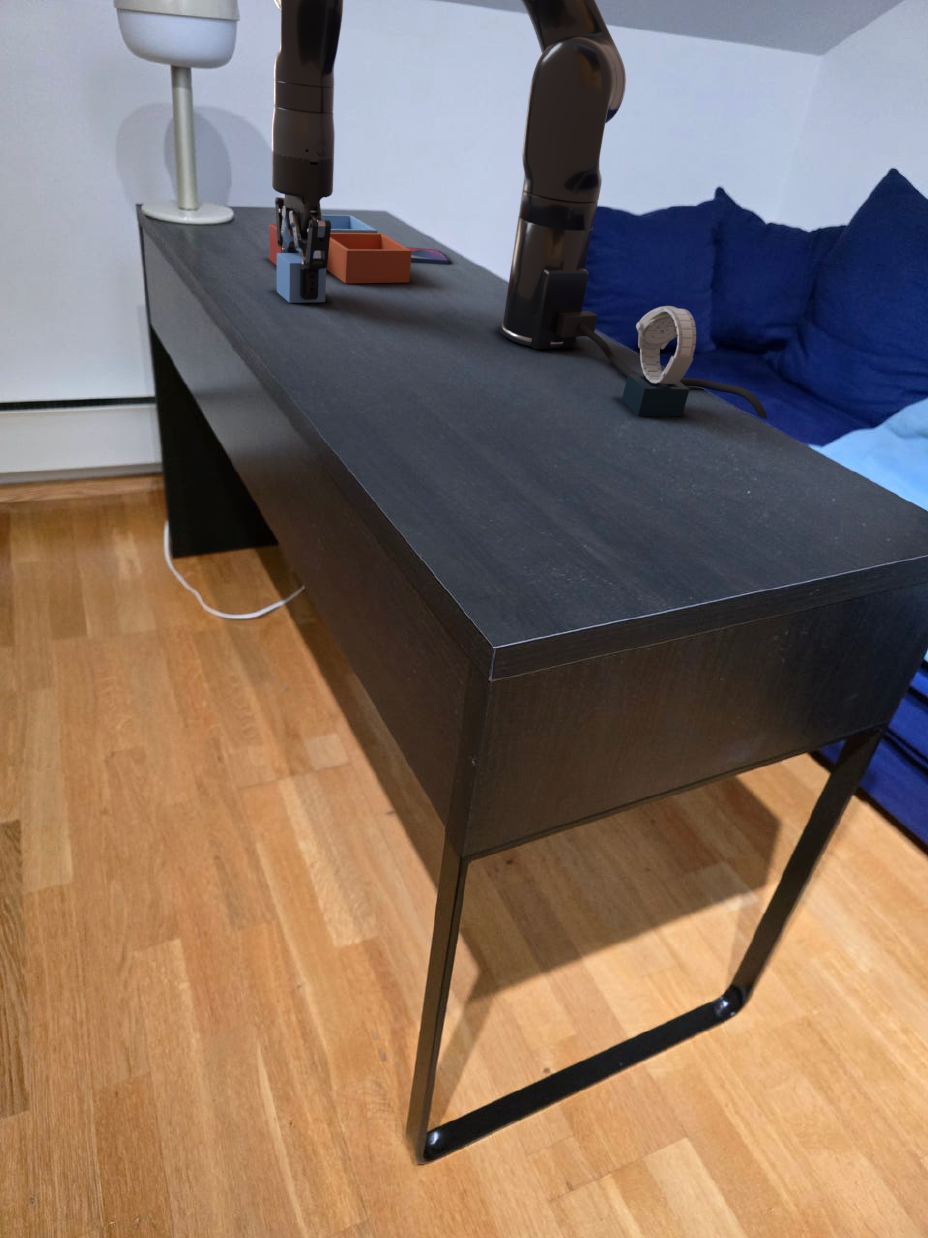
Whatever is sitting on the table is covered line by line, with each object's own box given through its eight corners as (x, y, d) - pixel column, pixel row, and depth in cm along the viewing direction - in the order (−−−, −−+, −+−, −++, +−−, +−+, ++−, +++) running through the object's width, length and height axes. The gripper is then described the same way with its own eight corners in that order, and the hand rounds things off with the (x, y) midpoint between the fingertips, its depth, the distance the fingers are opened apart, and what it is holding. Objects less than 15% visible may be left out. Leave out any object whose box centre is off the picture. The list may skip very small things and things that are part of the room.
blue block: (325, 302, 117) (326, 262, 114) (289, 302, 115) (289, 262, 112) (311, 291, 121) (312, 252, 118) (276, 291, 118) (276, 252, 115)
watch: (656, 394, 103) (681, 298, 97) (689, 422, 97) (718, 321, 91) (613, 394, 101) (636, 296, 95) (644, 422, 95) (670, 319, 89)
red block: (313, 268, 130) (314, 232, 127) (280, 269, 128) (281, 232, 125) (301, 259, 134) (301, 224, 131) (269, 259, 131) (269, 224, 128)
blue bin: (375, 260, 139) (377, 230, 136) (314, 260, 134) (315, 229, 132) (350, 244, 146) (351, 214, 143) (291, 243, 141) (291, 213, 138)
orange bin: (409, 282, 131) (411, 250, 128) (345, 283, 126) (346, 250, 123) (380, 263, 138) (382, 233, 135) (319, 263, 133) (319, 232, 130)
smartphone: (450, 267, 143) (451, 260, 143) (359, 260, 139) (360, 253, 138) (437, 256, 149) (438, 249, 149) (350, 249, 144) (350, 242, 144)
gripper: (254, 138, 111) (256, 277, 121) (294, 160, 101) (292, 309, 111) (310, 142, 114) (308, 276, 124) (354, 163, 105) (347, 307, 114)
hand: (300, 291), depth 117 cm, fingers open, 5 cm apart
